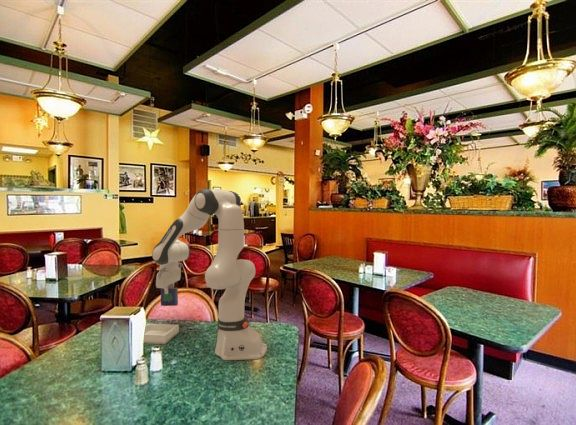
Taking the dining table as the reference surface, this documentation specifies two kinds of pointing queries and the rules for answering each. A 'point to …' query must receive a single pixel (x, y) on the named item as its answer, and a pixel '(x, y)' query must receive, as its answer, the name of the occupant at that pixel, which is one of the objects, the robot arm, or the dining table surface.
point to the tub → (160, 333)
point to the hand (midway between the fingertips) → (168, 292)
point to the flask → (169, 297)
